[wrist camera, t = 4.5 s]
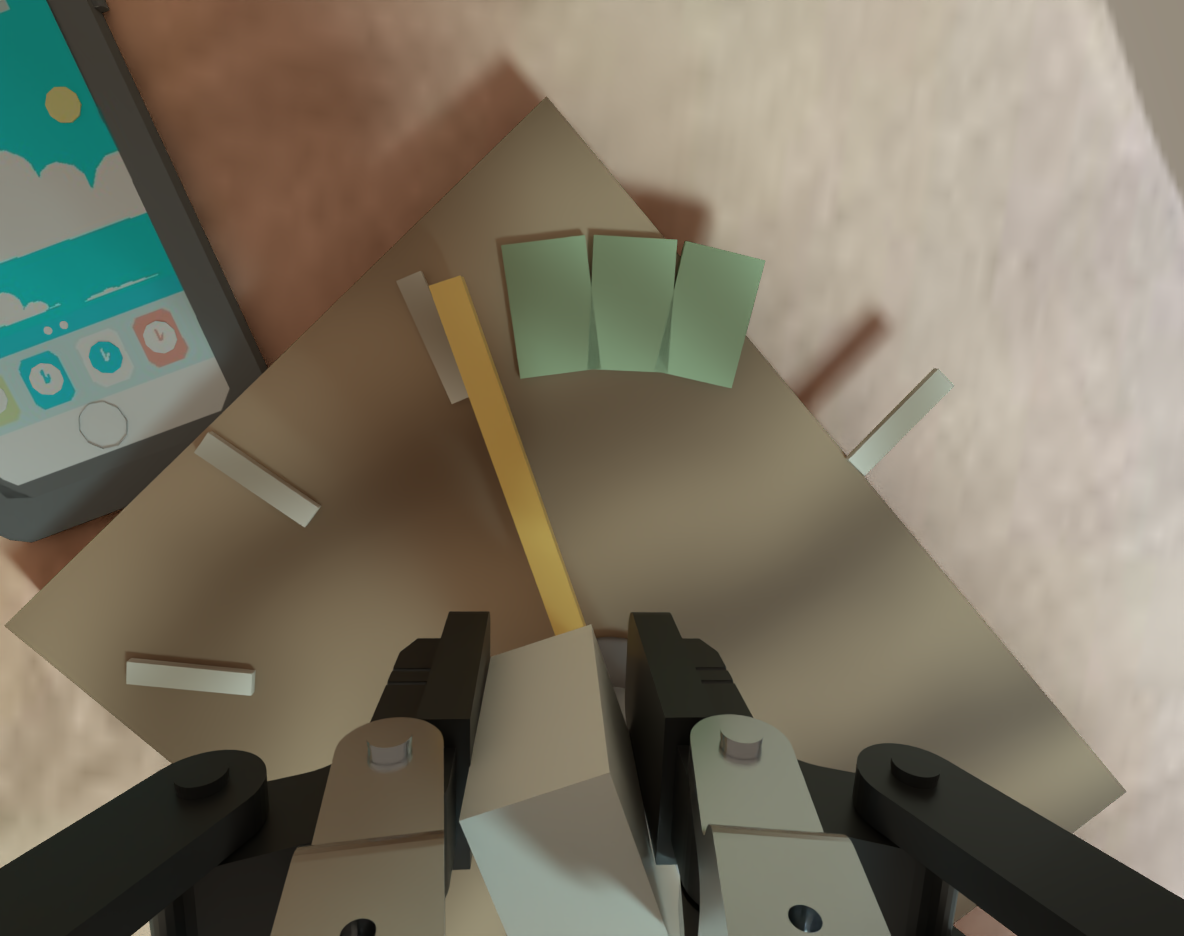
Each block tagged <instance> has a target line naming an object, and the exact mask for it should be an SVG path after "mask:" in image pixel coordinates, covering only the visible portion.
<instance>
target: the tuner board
mask: <svg viewBox="0 0 1184 936" xmlns="http://www.w3.org/2000/svg"><path fill="white" fill-rule="evenodd" d="M676 250H677V240H673V239H665V238H664V237H663V236H662V234H661V233H660V232H659V231H658V230H657V228H656V227H655V226H654V225H653V224H652V222H651V221H650V220H649V219H648V218H647V216H646V215H645V214H644V213H643V212H642V210H641V209H640V208H639V207H638V206H637V204H636V203H635V202H634V201H633V200H632V198H631V197H630V196H629V195H628V194H627V192H626V191H625V190H624V189H623V188H622V186H621V185H620V184H619V183H618V182H617V180H616V179H615V178H614V177H613V176H612V174H611V173H610V172H609V171H608V170H607V168H606V167H605V166H604V165H603V164H602V162H601V161H600V160H599V159H598V158H597V156H596V155H595V154H594V153H593V152H592V150H591V149H590V148H589V147H588V146H587V144H586V143H585V142H584V141H583V140H582V138H581V137H580V136H579V135H578V134H577V133H576V131H575V130H574V129H573V128H572V127H571V125H570V124H569V123H568V122H567V121H566V119H565V118H564V117H563V116H562V115H561V113H560V112H559V111H558V110H557V109H556V107H555V106H554V105H553V104H552V103H551V101H550V100H549V99H548V98H547V97H545V98H544V99H543V100H542V101H541V102H540V103H539V104H538V105H537V106H536V107H535V108H534V109H533V110H532V111H531V112H530V113H529V114H528V115H527V116H526V117H525V118H524V119H523V120H522V121H521V122H520V123H519V124H518V125H517V126H516V127H515V128H514V129H513V130H512V131H511V132H510V133H509V134H508V135H507V136H505V137H504V138H503V139H502V140H501V141H500V142H499V143H498V144H497V145H496V146H495V147H494V148H493V149H492V150H491V151H490V152H489V153H488V154H487V155H486V156H485V157H484V158H483V159H482V160H481V161H480V162H479V163H478V164H477V165H476V166H475V167H474V168H473V169H472V170H471V171H470V172H469V173H468V174H467V175H466V176H465V177H463V178H462V179H461V180H460V181H459V182H458V183H457V184H456V185H455V186H454V187H453V188H452V189H451V190H450V191H449V192H448V193H447V194H446V195H445V196H444V197H443V198H442V199H441V200H440V201H439V202H438V203H437V204H436V205H435V206H434V207H433V208H432V209H431V210H430V211H429V212H428V213H427V214H426V215H425V216H424V217H423V218H421V219H420V220H419V221H418V222H417V223H416V224H415V225H414V226H413V227H412V228H411V229H410V230H409V231H408V232H407V233H406V234H405V235H404V236H403V237H402V238H401V239H400V240H399V241H398V242H397V243H396V244H395V245H394V246H393V247H392V248H391V249H390V250H389V251H388V252H387V253H386V254H385V255H384V256H383V257H382V258H381V259H379V260H378V261H377V262H376V263H375V264H374V265H373V266H372V267H371V268H370V269H369V270H368V271H367V272H366V273H365V274H364V275H363V276H362V277H361V278H360V279H359V280H358V281H357V282H356V283H355V284H354V285H353V286H352V287H351V288H350V289H349V290H348V291H347V292H346V293H345V294H344V295H343V296H342V297H341V298H340V299H339V300H337V301H336V302H335V303H334V304H333V305H332V306H331V307H330V308H329V309H328V310H327V311H326V312H325V313H324V314H323V315H322V316H321V317H320V318H319V319H318V320H317V321H316V322H315V323H314V324H313V325H312V326H311V327H310V328H309V329H308V330H307V331H306V332H305V333H304V334H303V335H302V336H301V337H300V338H299V339H298V340H297V341H296V342H294V343H293V344H292V345H291V346H290V347H289V348H288V349H287V350H286V351H285V352H284V353H283V354H282V355H281V356H280V357H279V358H278V359H277V360H276V361H275V362H274V363H273V364H272V365H271V366H270V367H269V368H268V369H267V370H266V371H265V372H264V373H263V374H262V375H261V376H260V377H259V378H258V379H257V380H256V381H255V382H254V383H252V384H251V385H250V386H249V387H248V388H247V389H246V390H245V391H244V392H243V393H242V394H241V395H240V396H239V397H238V398H237V399H236V400H235V401H234V402H233V403H232V404H231V405H230V406H229V407H228V408H227V409H226V410H225V411H224V412H223V413H222V414H221V415H220V416H219V417H218V418H217V419H216V420H215V421H214V422H213V423H212V424H210V425H209V426H208V427H207V428H206V429H205V430H204V431H203V432H202V433H201V434H200V435H199V436H198V437H197V438H196V439H195V440H194V441H193V442H192V443H191V444H190V445H189V446H188V447H187V448H186V449H185V450H184V451H183V452H182V453H181V454H180V455H179V456H178V457H177V458H176V459H175V460H174V461H173V462H172V463H171V464H170V465H168V466H167V467H166V468H165V469H164V470H163V471H162V472H161V473H160V474H159V475H158V476H157V477H156V478H155V479H154V480H153V481H152V482H151V483H150V484H149V485H148V486H147V487H146V488H145V489H144V490H143V491H142V492H141V493H140V494H139V495H138V496H137V497H136V498H135V499H134V500H133V501H132V502H131V503H130V504H129V505H128V506H126V507H125V508H124V509H123V510H122V511H121V512H120V513H119V514H118V515H117V516H116V517H115V518H114V519H113V520H112V521H111V522H110V523H109V524H108V525H107V526H106V527H105V528H104V529H103V530H102V531H101V532H100V533H99V534H98V535H97V536H96V537H95V538H94V539H93V540H92V541H91V542H90V543H89V544H88V545H87V546H86V547H84V548H83V549H82V550H81V551H80V552H79V553H78V554H77V555H76V556H75V557H74V558H73V559H72V560H71V561H70V562H69V563H68V564H67V565H66V566H65V567H64V568H63V569H62V570H61V571H60V572H59V573H58V574H57V575H56V576H55V577H54V578H53V579H52V580H51V581H50V582H49V583H48V584H47V585H46V586H45V587H44V588H42V589H41V590H40V591H39V592H38V593H37V594H36V595H35V596H34V597H33V598H32V599H31V600H30V601H29V602H28V603H27V604H26V605H25V606H24V607H23V608H22V609H21V610H20V611H19V612H18V613H17V614H16V615H15V616H14V617H13V618H12V619H11V620H10V621H9V622H8V623H7V624H6V625H5V627H6V628H8V629H9V630H10V631H11V632H12V633H14V634H15V635H16V636H17V637H19V638H20V639H21V640H22V641H23V642H25V643H26V644H27V645H28V646H30V647H31V648H32V649H33V650H34V651H36V652H37V653H38V654H39V655H40V656H42V657H43V658H44V659H45V660H47V661H48V662H49V663H50V664H51V665H53V666H54V667H55V668H56V669H58V670H59V671H60V672H61V673H62V674H64V675H65V676H66V677H67V678H68V679H70V680H71V681H72V682H73V683H75V684H76V685H77V686H78V687H79V688H81V689H82V690H83V691H84V692H85V693H87V694H88V695H89V696H90V697H92V698H93V699H94V700H95V701H96V702H98V703H99V704H100V705H101V706H103V707H104V708H105V709H106V710H107V711H109V712H110V713H111V714H112V715H113V716H115V717H116V718H117V719H118V720H120V721H121V722H122V723H123V724H124V725H126V726H127V727H128V728H129V729H131V730H132V731H133V732H134V733H135V734H137V735H138V736H139V737H140V738H141V739H143V740H144V741H145V742H146V743H148V744H149V745H150V746H151V747H152V748H154V749H155V750H156V751H157V752H159V753H160V754H161V755H162V756H163V757H165V758H166V759H167V760H168V761H169V762H171V763H172V764H173V763H175V762H177V761H179V760H182V759H184V758H187V757H190V756H193V755H197V754H200V753H204V752H210V751H216V750H241V751H246V752H250V753H252V754H255V755H257V756H258V757H259V758H261V759H262V760H263V762H264V763H265V765H266V769H267V781H271V780H276V779H280V778H285V777H290V776H294V775H299V774H303V773H307V772H311V771H315V770H318V769H321V768H323V767H326V766H328V765H330V764H332V759H333V755H334V751H335V749H336V746H337V745H338V743H339V742H340V740H341V739H343V738H344V737H345V736H346V735H347V734H348V733H350V732H351V731H352V730H354V729H356V728H358V727H360V726H362V725H364V724H367V723H370V721H371V719H372V717H373V714H374V712H375V710H376V707H377V705H378V702H379V700H380V698H381V695H382V693H383V691H384V688H385V686H386V685H387V681H388V679H389V676H390V674H391V672H392V671H393V667H394V665H395V662H396V660H397V658H398V655H399V653H400V652H401V651H402V650H403V649H404V648H406V647H407V646H408V645H410V644H411V643H412V642H413V641H415V640H416V639H417V638H441V635H442V632H443V629H444V626H445V623H446V619H447V616H448V613H449V611H489V612H490V659H491V657H492V656H495V655H498V654H501V653H504V652H507V651H510V650H513V649H517V648H520V647H523V646H526V645H529V644H532V643H535V642H538V641H541V640H544V639H547V638H550V637H553V636H555V633H554V631H553V628H552V625H551V622H550V620H549V617H548V614H547V611H546V609H545V606H544V603H543V600H542V598H541V595H540V592H539V589H538V587H537V584H536V581H535V578H534V575H533V573H532V570H531V567H530V564H529V562H528V559H527V556H526V553H525V551H524V548H523V545H522V542H521V540H520V537H519V534H518V531H517V529H516V526H515V523H514V520H513V518H512V515H511V512H510V509H509V507H508V504H507V501H506V498H505V496H504V493H503V490H502V487H501V484H500V482H499V479H498V476H497V473H496V471H495V468H494V465H493V462H492V460H491V457H490V454H489V451H488V449H487V446H486V443H485V440H484V438H483V435H482V432H481V429H480V427H479V424H478V421H477V418H476V416H475V413H474V410H473V407H472V405H471V402H470V399H469V396H468V393H467V391H466V388H465V385H464V382H463V380H462V377H461V374H460V371H459V369H458V366H457V363H456V360H455V358H454V355H453V352H452V349H451V347H450V344H449V341H448V338H447V336H446V333H445V330H444V327H443V325H442V322H441V319H440V316H439V314H438V311H437V308H436V305H435V302H434V300H433V297H432V294H431V291H430V289H429V286H430V285H433V284H436V283H439V282H442V281H445V280H448V279H451V278H454V277H457V276H460V275H461V276H462V277H464V279H465V282H466V285H467V288H468V290H469V293H470V296H471V299H472V302H473V305H474V308H475V310H476V313H477V316H478V319H479V322H480V325H481V327H482V330H483V333H484V336H485V339H486V342H487V345H488V347H489V350H490V353H491V356H492V359H493V362H494V365H495V367H496V370H497V373H498V376H499V379H500V382H501V384H502V387H503V390H504V393H505V396H506V399H507V402H508V404H509V407H510V410H511V413H512V416H513V419H514V421H515V424H516V427H517V430H518V433H519V436H520V439H521V441H522V444H523V447H524V450H525V453H526V456H527V459H528V461H529V464H530V467H531V470H532V473H533V476H534V478H535V481H536V484H537V487H538V490H539V493H540V496H541V498H542V501H543V504H544V507H545V510H546V513H547V515H548V518H549V521H550V524H551V527H552V530H553V533H554V535H555V538H556V541H557V544H558V547H559V550H560V553H561V555H562V558H563V561H564V564H565V567H566V570H567V572H568V575H569V578H570V581H571V584H572V587H573V590H574V592H575V595H576V598H577V601H578V604H579V607H580V610H581V612H582V615H583V618H584V621H585V624H586V626H587V625H590V624H591V625H592V628H593V631H594V633H595V636H596V639H597V642H598V645H599V648H600V651H601V654H602V656H603V659H604V662H605V665H606V668H607V671H608V674H609V676H610V679H611V682H612V685H613V687H620V688H624V689H625V679H626V659H627V638H628V622H629V615H630V613H631V612H670V613H671V615H672V617H673V619H674V621H675V623H676V626H677V628H678V630H679V632H680V635H681V637H682V638H700V639H701V640H702V641H704V642H705V643H706V644H708V645H709V646H711V647H712V648H713V649H715V650H716V651H718V653H719V655H720V657H721V658H722V660H723V662H724V664H725V666H726V670H728V671H729V673H730V675H731V677H732V679H733V683H735V684H736V686H737V688H738V690H739V692H740V694H741V696H742V698H743V699H744V701H745V703H746V705H747V707H748V709H749V711H750V712H751V714H752V716H753V718H755V719H758V720H761V721H763V722H766V723H768V724H770V725H772V726H774V727H775V728H777V729H778V730H779V731H781V732H782V733H783V734H784V735H785V736H786V737H787V738H788V740H789V741H790V743H791V745H792V747H793V750H794V753H795V755H796V758H797V759H798V760H800V761H803V762H806V763H809V764H813V765H817V766H822V767H827V768H832V769H837V770H843V771H848V772H853V773H855V772H856V764H857V757H858V755H859V753H860V752H861V751H862V750H863V749H865V748H867V747H869V746H872V745H875V744H881V743H896V744H904V745H910V746H914V747H917V748H921V749H924V750H927V751H929V752H932V753H934V754H936V755H938V756H940V757H942V758H944V759H946V760H948V761H949V762H951V763H953V764H954V765H956V766H958V767H960V768H961V769H963V770H965V771H966V772H968V773H970V774H971V775H973V776H975V777H977V778H978V779H980V780H982V781H983V782H985V783H987V784H988V785H990V786H992V787H994V788H995V789H997V790H999V791H1000V792H1002V793H1004V794H1005V795H1007V796H1009V797H1011V798H1012V799H1014V800H1016V801H1017V802H1019V803H1021V804H1022V805H1024V806H1026V807H1027V808H1029V809H1031V810H1033V811H1034V812H1036V813H1038V814H1039V815H1041V816H1043V817H1044V818H1046V819H1048V820H1050V821H1051V822H1053V823H1055V824H1056V825H1058V826H1060V827H1061V828H1063V829H1065V830H1067V831H1068V832H1070V833H1073V832H1074V831H1076V830H1077V829H1078V828H1080V827H1081V826H1082V825H1084V824H1085V823H1086V822H1088V821H1089V820H1090V819H1092V818H1093V817H1094V816H1095V815H1097V814H1098V813H1099V812H1101V811H1102V810H1103V809H1105V808H1106V807H1107V806H1109V805H1110V804H1111V803H1112V802H1114V801H1115V800H1116V799H1118V798H1119V797H1120V796H1122V795H1123V794H1124V793H1126V790H1125V789H1124V788H1123V787H1122V786H1121V784H1120V783H1119V782H1118V781H1117V780H1116V778H1115V777H1114V776H1113V775H1112V774H1111V772H1110V771H1109V770H1108V769H1107V768H1106V766H1105V765H1104V764H1103V763H1102V762H1101V760H1100V759H1099V758H1098V757H1097V756H1096V754H1095V753H1094V752H1093V751H1092V750H1091V748H1090V747H1089V746H1088V745H1087V744H1086V742H1085V741H1084V740H1083V739H1082V738H1081V736H1080V735H1079V734H1078V733H1077V732H1076V730H1075V729H1074V728H1073V727H1072V726H1071V724H1070V723H1069V722H1068V721H1067V720H1066V718H1065V717H1064V716H1063V715H1062V714H1061V712H1060V711H1059V710H1058V709H1057V708H1056V706H1055V705H1054V704H1053V703H1052V702H1051V701H1050V699H1049V698H1048V697H1047V696H1046V695H1045V693H1044V692H1043V691H1042V690H1041V689H1040V687H1039V686H1038V685H1037V684H1036V683H1035V681H1034V680H1033V679H1032V678H1031V677H1030V675H1029V674H1028V673H1027V672H1026V671H1025V669H1024V668H1023V667H1022V666H1021V665H1020V663H1019V662H1018V661H1017V660H1016V659H1015V657H1014V656H1013V655H1012V654H1011V653H1010V651H1009V650H1008V649H1007V648H1006V647H1005V645H1004V644H1003V643H1002V642H1001V641H1000V639H999V638H998V637H997V636H996V635H995V633H994V632H993V631H992V630H991V629H990V627H989V626H988V625H987V624H986V623H985V621H984V620H983V619H982V618H981V617H980V615H979V614H978V613H977V612H976V611H975V609H974V608H973V607H972V606H971V605H970V603H969V602H968V601H967V600H966V599H965V597H964V596H963V595H962V594H961V593H960V591H959V590H958V589H957V588H956V587H955V585H954V584H953V583H952V582H951V581H950V579H949V578H948V577H947V576H946V575H945V573H944V572H943V571H942V570H941V569H940V567H939V566H938V565H937V564H936V563H935V562H934V560H933V559H932V558H931V557H930V556H929V554H928V553H927V552H926V551H925V550H924V548H923V547H922V546H921V545H920V544H919V542H918V541H917V540H916V539H915V538H914V536H913V535H912V534H911V533H910V532H909V530H908V529H907V528H906V527H905V526H904V524H903V523H902V522H901V521H900V520H899V518H898V517H897V516H896V515H895V514H894V512H893V511H892V510H891V509H890V508H889V506H888V505H887V504H886V503H885V502H884V500H883V499H882V498H881V497H880V496H879V494H878V493H877V492H876V491H875V490H874V488H873V487H872V486H871V485H870V484H869V482H868V481H867V480H866V479H865V478H864V476H865V475H866V474H867V473H868V472H869V471H870V470H871V469H872V468H873V467H874V466H875V465H876V464H877V463H878V462H879V461H880V460H881V459H882V458H883V457H884V456H885V455H886V454H887V453H888V452H889V451H890V450H891V449H892V448H893V447H894V446H895V445H896V444H897V443H898V442H899V441H900V440H901V439H902V438H903V437H904V436H905V435H906V434H907V433H908V432H909V431H910V430H911V429H912V428H913V427H914V426H915V425H916V424H917V423H918V422H919V421H920V420H921V419H922V418H923V417H924V416H925V415H926V414H927V413H928V412H929V411H930V410H931V409H932V408H933V407H934V406H935V405H936V404H937V403H938V402H939V401H940V400H941V399H942V398H943V397H944V396H945V395H946V394H947V393H948V392H949V391H950V390H951V389H952V388H953V387H954V385H953V384H952V383H951V382H950V381H949V380H948V379H947V378H946V376H945V375H944V374H943V373H942V372H941V371H940V370H939V369H933V370H932V371H931V372H930V373H929V374H928V375H927V376H926V377H925V378H924V379H923V380H922V381H921V382H920V383H919V384H918V385H917V386H916V387H915V388H914V389H913V390H912V391H911V392H910V393H909V394H908V395H907V396H906V397H905V398H904V399H903V400H902V401H901V402H900V403H899V404H898V405H897V406H896V407H895V408H894V409H893V410H892V411H891V412H890V413H889V414H888V415H887V416H886V417H885V418H884V419H883V420H882V421H881V422H880V423H879V424H878V425H877V426H876V427H875V428H874V429H873V431H872V432H871V433H870V434H869V435H868V436H867V437H866V438H865V439H864V440H863V441H862V442H861V443H860V444H859V445H858V446H857V447H856V448H855V449H854V450H853V451H852V452H851V453H850V454H849V455H848V456H846V455H845V454H844V452H843V451H842V450H841V449H840V448H839V446H838V445H837V444H836V443H835V442H834V440H833V439H832V438H831V437H830V436H829V434H828V433H827V432H826V431H825V430H824V428H823V427H822V426H821V425H820V424H819V422H818V421H817V420H816V419H815V418H814V417H813V415H812V414H811V413H810V412H809V411H808V409H807V408H806V407H805V406H804V405H803V403H802V402H801V401H800V400H799V399H798V397H797V396H796V395H795V394H794V393H793V391H792V390H791V389H790V388H789V387H788V385H787V384H786V383H785V382H784V381H783V379H782V378H781V377H780V376H779V375H778V373H777V372H776V371H775V370H774V369H773V367H772V366H771V365H770V364H769V363H768V361H767V360H766V359H765V358H764V357H763V355H762V354H761V353H760V352H759V351H758V349H757V348H756V347H755V346H754V345H753V343H752V342H751V341H750V340H749V339H748V337H747V336H746V332H747V328H748V324H749V321H750V317H751V313H752V309H753V305H754V302H755V298H756V294H757V290H758V286H759V283H760V279H761V275H762V271H763V268H764V264H765V260H761V259H757V258H753V257H749V256H745V255H741V254H737V253H733V252H729V251H725V250H721V249H717V248H713V247H708V246H704V245H700V244H696V243H692V242H688V241H685V242H684V245H683V249H682V253H681V257H680V256H679V255H678V254H677V252H676ZM863 475H864V476H863ZM976 906H977V905H976V904H975V903H973V902H972V901H971V900H969V899H968V898H967V897H965V896H964V895H963V894H961V893H960V892H958V898H957V904H956V910H955V916H954V922H953V924H954V923H955V922H957V921H958V920H959V919H960V918H962V917H963V916H964V915H966V914H967V913H968V912H970V911H971V910H972V909H974V908H975V907H976ZM445 936H507V934H506V932H505V929H504V927H503V924H502V922H501V920H500V917H499V915H498V913H497V910H496V908H495V905H494V903H493V901H492V898H491V896H490V894H489V891H488V889H487V886H486V884H485V882H484V879H483V877H482V875H481V872H480V870H479V868H478V865H477V863H476V860H475V858H474V856H473V853H472V860H471V868H470V870H452V874H451V880H450V886H449V890H448V894H447V896H446V898H445Z"/></svg>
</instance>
